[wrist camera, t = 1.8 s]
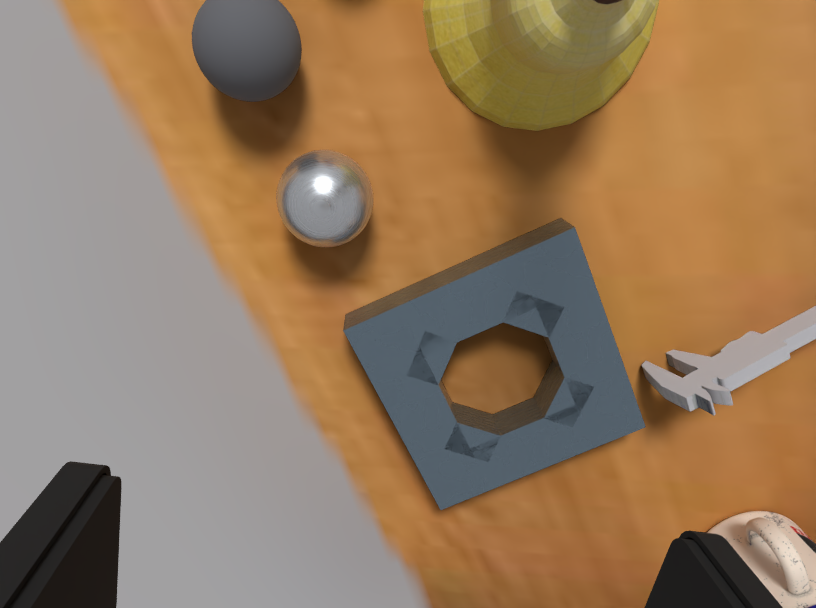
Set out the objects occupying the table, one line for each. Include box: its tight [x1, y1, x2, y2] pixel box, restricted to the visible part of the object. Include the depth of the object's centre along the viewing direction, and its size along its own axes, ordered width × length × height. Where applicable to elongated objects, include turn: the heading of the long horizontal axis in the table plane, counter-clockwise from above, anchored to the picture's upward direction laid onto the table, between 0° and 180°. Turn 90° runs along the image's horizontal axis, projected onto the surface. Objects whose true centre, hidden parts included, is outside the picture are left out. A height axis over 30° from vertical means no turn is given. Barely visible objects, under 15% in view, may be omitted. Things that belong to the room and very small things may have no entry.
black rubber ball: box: [192, 0, 302, 102], centre depth 27 cm, size 5×5×5 cm
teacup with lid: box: [707, 511, 816, 608], centre depth 38 cm, size 12×9×12 cm
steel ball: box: [276, 150, 373, 247], centre depth 30 cm, size 5×5×5 cm
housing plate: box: [343, 218, 645, 510], centre depth 36 cm, size 14×14×2 cm
